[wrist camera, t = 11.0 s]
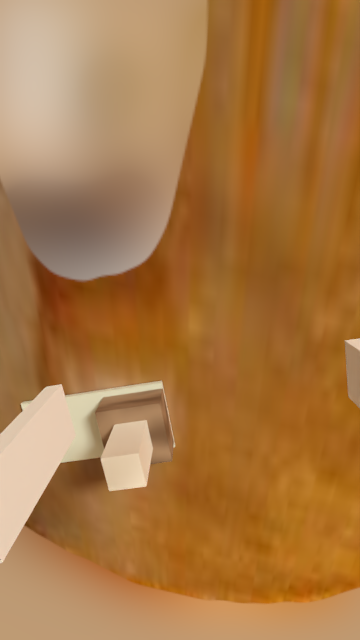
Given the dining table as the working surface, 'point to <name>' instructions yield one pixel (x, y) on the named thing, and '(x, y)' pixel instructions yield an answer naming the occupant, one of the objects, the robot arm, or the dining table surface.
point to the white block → (127, 456)
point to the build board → (93, 419)
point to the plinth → (139, 419)
